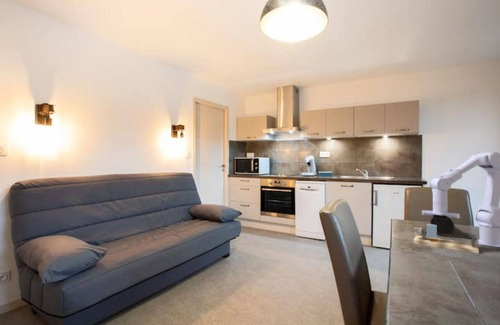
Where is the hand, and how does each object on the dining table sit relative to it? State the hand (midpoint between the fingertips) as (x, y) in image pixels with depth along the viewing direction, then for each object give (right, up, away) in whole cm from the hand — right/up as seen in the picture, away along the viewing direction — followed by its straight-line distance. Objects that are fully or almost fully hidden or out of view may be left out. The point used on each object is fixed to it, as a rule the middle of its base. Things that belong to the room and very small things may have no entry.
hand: (440, 231), depth 123 cm
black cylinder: (+20, -6, +27) cm, 35 cm away
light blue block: (-3, -3, +2) cm, 5 cm away
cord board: (+1, -6, -1) cm, 7 cm away
